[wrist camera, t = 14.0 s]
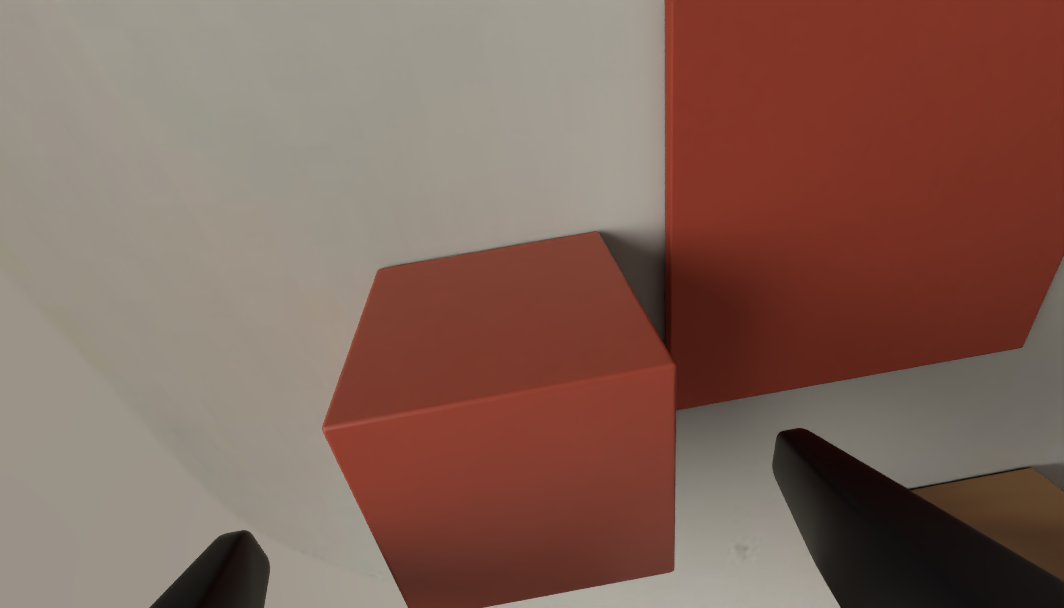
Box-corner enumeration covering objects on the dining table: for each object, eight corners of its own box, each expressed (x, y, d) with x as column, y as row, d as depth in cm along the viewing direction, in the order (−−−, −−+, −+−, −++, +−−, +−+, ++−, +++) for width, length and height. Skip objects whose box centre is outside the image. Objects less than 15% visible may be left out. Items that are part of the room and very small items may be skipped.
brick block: (430, 430, 14) (413, 623, 9) (376, 267, 11) (318, 428, 7) (611, 398, 14) (675, 573, 10) (598, 229, 11) (679, 364, 7)
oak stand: (835, 594, 20) (933, 750, 16) (864, 497, 17) (996, 657, 13) (978, 566, 21) (1113, 714, 16) (1033, 465, 17) (1217, 614, 13)
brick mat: (665, 402, 14) (669, 412, 14) (663, -18, 9) (672, -20, 9) (1009, 340, 14) (1023, 348, 14) (1198, -105, 9) (1227, -109, 9)
